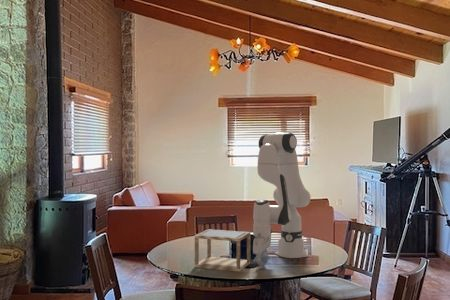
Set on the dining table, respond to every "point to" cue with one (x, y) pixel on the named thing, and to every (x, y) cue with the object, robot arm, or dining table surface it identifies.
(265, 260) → the toy figure
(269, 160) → the robot arm
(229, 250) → the dining table surface
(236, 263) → the frame
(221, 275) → the dining table surface
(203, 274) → the dining table surface
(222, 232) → the trapdoor
